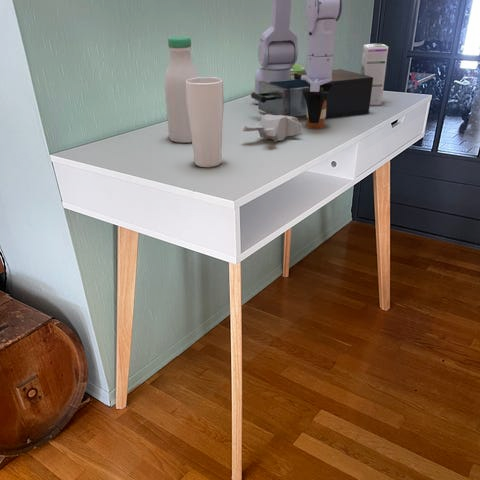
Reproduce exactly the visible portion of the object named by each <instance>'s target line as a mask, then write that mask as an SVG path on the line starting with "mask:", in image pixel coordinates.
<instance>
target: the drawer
mask: <svg viewBox="0 0 480 480" xmlns="http://www.w3.org/2000/svg"><path fill="white" fill-rule="evenodd" d="M308 84H309V83H308V82H307V81H306V80H301V79H300V78H299V79H289V80H278V81H269V83H268V82H265V81H259V94H257V93H255V91H254V92H251V94H250V97H251V99H253V100H254V101H255V100H258V101H259V102H258V104H257V105H258V106H257V107H258V108H257V109H258V110H260V111H262V112H264V113H266V114H270V115H277V116H278V115H283V116H290V117H300V116H301V117H302V116H307V104H306V100H305V97H304V95H303V90H304V89H309V86H308Z"/></svg>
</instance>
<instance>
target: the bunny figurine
mask: <svg viewBox="0 0 480 480" xmlns="http://www.w3.org/2000/svg"><path fill="white" fill-rule="evenodd" d="M302 126H303V125H302V123H301V122H300V121H299V119H298V118H297V116H293V117H290V116H287V115H286V116H283V115H278V116H277V115H271V114H268V113H266V114H264V115H262V116H261V118H260V120H259V124H245V125H244V127H243V129H242V132H255V131H258V134H259V137H260V138H262V139H263V140H264V141H267V140H268V139H270V140H273V142H275V143H278V142H279V141H284V140H285V139H286V138H287V137H293V136H294V137H295V136H296V135H300V134H301V132H302Z"/></svg>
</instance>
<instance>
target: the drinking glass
mask: <svg viewBox="0 0 480 480" xmlns="http://www.w3.org/2000/svg"><path fill="white" fill-rule="evenodd" d="M224 100H225V99H224V83H223V79H221V78H220V77H213V76H199V77H198V78H191V79H188V80H186V101H187V110H188V117H189V124H190V130H191V137H192V142H191V143H192V151H193V152H192V153H193V162H194V164H195V165H196V166H197V167H200V168H214V167H218V166H219V165H221V163H222V159H223V157H222V150H223V149H222V146H223V145H222V144H223V128H224V127H223V125H224V105H225V103H224Z"/></svg>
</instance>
